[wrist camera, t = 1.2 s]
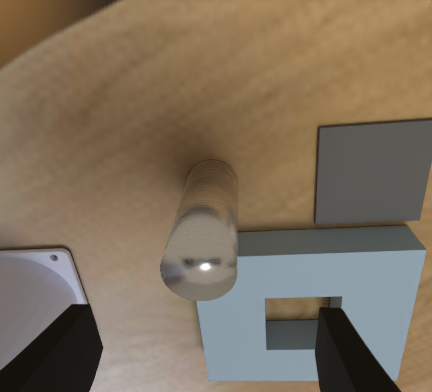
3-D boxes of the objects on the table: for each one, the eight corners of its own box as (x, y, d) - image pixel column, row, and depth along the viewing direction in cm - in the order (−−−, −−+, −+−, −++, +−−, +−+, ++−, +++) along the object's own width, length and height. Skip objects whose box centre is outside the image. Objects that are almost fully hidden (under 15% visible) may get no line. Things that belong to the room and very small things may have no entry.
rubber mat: (314, 222, 21) (315, 224, 21) (318, 126, 19) (320, 128, 18) (417, 217, 21) (419, 220, 21) (437, 118, 18) (440, 120, 18)
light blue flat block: (211, 351, 27) (208, 381, 25) (194, 234, 22) (189, 258, 20) (383, 349, 26) (396, 380, 24) (406, 225, 21) (426, 249, 19)
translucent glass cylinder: (190, 206, 21) (166, 302, 14) (184, 161, 20) (154, 241, 13) (239, 204, 21) (239, 300, 14) (236, 158, 20) (234, 238, 13)
